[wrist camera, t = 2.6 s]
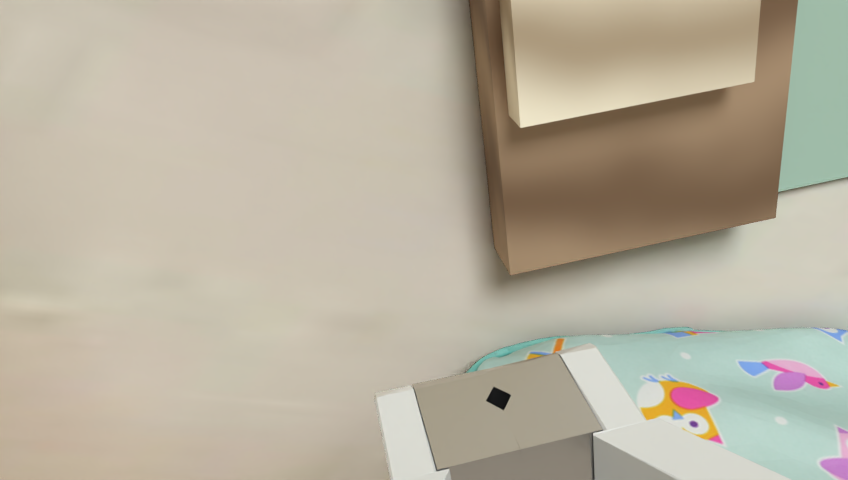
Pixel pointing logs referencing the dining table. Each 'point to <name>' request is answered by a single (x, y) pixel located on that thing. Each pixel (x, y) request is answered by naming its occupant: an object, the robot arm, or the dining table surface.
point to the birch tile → (621, 53)
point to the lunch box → (732, 389)
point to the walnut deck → (632, 158)
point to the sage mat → (817, 97)
